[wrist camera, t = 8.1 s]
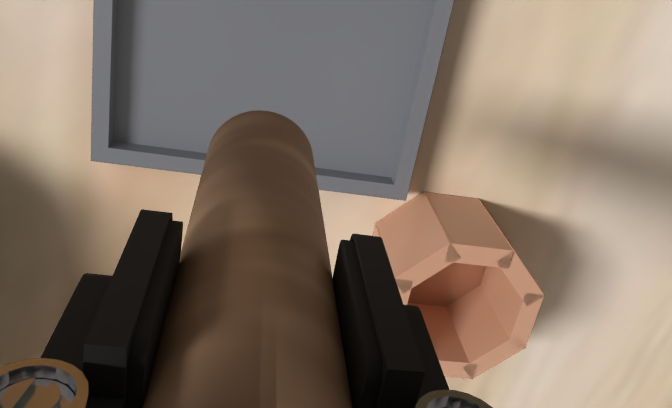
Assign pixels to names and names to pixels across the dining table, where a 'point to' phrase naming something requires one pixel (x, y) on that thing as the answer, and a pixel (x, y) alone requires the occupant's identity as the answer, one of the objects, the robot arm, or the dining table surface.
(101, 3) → the tray
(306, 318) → the dowel
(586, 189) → the dining table surface
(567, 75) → the dining table surface
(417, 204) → the cup
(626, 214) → the dining table surface
